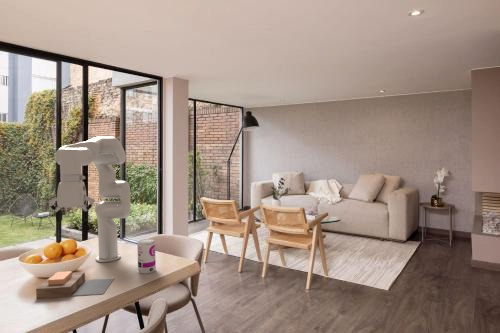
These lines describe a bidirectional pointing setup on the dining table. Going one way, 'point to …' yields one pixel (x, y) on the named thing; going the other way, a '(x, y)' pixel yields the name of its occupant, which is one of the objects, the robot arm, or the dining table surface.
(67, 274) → the peach rectangular tile
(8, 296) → the dining table surface
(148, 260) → the supplement can
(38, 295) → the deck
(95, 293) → the mat
